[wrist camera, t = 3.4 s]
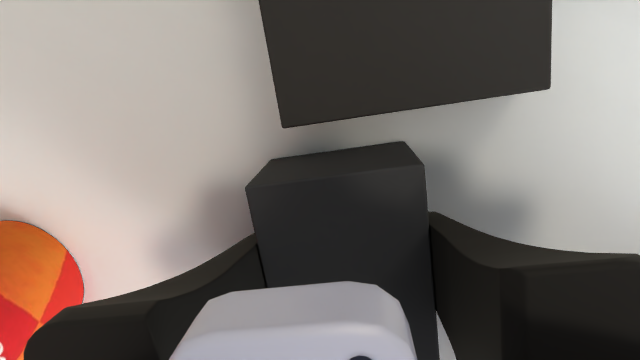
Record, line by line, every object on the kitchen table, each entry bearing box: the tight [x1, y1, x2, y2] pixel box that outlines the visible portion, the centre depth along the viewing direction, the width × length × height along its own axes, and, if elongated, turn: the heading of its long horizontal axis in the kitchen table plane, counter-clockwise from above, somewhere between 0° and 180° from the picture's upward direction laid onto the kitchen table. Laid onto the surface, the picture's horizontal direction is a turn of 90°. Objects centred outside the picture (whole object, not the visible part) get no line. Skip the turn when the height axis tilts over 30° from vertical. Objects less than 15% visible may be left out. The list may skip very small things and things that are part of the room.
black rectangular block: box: [245, 141, 440, 360], centre depth 12 cm, size 6×5×4 cm
